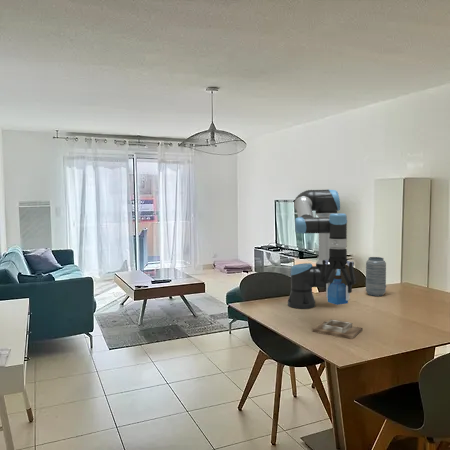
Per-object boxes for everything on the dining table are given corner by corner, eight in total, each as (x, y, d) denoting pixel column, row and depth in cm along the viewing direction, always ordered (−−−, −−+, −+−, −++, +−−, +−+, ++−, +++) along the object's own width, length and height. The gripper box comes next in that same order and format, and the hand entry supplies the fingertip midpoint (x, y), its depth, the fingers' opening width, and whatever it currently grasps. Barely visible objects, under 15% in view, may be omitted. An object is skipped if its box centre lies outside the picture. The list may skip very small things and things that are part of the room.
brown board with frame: (312, 331, 186) (312, 324, 186) (324, 323, 198) (324, 317, 198) (352, 339, 176) (352, 331, 176) (362, 330, 187) (362, 323, 187)
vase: (388, 296, 251) (389, 259, 250) (369, 296, 251) (369, 259, 250) (381, 292, 263) (382, 256, 261) (363, 292, 263) (363, 256, 262)
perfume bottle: (337, 304, 182) (337, 277, 181) (327, 302, 187) (327, 275, 186) (347, 303, 184) (348, 276, 184) (338, 300, 190) (338, 274, 189)
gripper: (312, 247, 188) (312, 297, 189) (359, 250, 175) (358, 303, 177) (318, 246, 194) (318, 294, 195) (364, 248, 182) (364, 299, 183)
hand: (337, 298), depth 186 cm, fingers closed on perfume bottle, 8 cm apart
